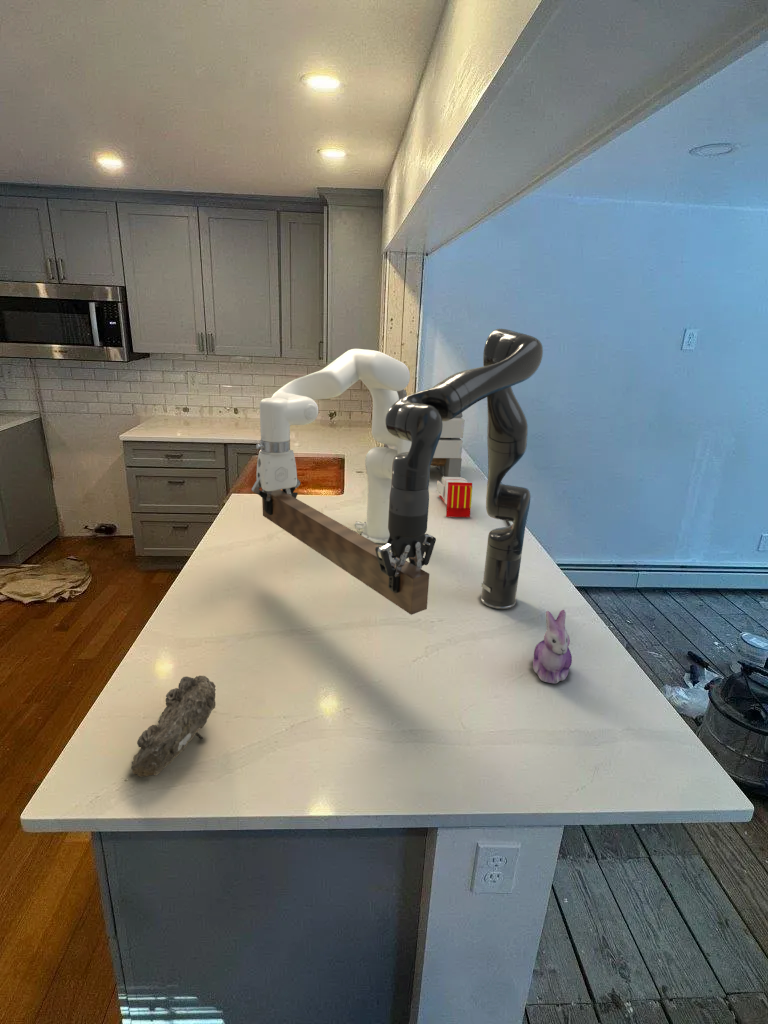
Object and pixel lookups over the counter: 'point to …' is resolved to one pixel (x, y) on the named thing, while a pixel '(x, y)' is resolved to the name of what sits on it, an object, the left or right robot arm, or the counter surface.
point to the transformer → (446, 445)
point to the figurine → (553, 651)
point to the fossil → (175, 725)
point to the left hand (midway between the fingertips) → (277, 511)
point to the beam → (348, 551)
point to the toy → (456, 496)
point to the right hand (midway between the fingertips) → (403, 587)
